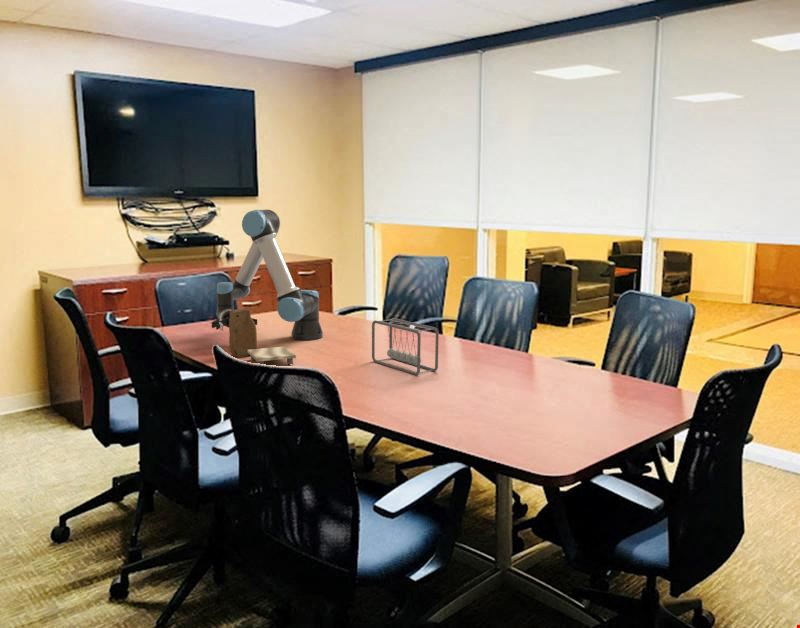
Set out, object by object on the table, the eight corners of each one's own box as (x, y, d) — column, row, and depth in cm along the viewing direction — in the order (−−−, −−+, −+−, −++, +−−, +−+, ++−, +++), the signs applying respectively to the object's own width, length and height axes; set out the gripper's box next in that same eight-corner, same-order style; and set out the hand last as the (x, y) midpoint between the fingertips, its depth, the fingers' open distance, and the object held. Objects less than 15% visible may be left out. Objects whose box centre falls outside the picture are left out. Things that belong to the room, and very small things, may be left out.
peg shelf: (285, 356, 294) (285, 346, 293) (296, 365, 279) (295, 355, 278) (247, 359, 287) (247, 349, 287) (256, 368, 272) (256, 358, 271)
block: (234, 358, 289) (232, 311, 286) (228, 354, 295) (227, 309, 292) (258, 355, 295) (257, 309, 291) (252, 352, 301) (251, 307, 297)
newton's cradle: (371, 361, 286) (371, 319, 283) (390, 358, 293) (391, 317, 290) (418, 376, 263) (419, 331, 260) (438, 372, 270) (439, 328, 267)
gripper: (256, 324, 325) (266, 332, 306) (202, 328, 315) (209, 337, 296) (255, 308, 324) (266, 316, 305) (201, 312, 314) (208, 320, 295)
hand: (238, 326), depth 300 cm, fingers open, 13 cm apart
